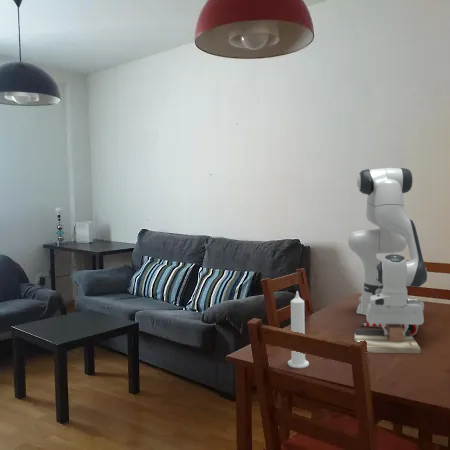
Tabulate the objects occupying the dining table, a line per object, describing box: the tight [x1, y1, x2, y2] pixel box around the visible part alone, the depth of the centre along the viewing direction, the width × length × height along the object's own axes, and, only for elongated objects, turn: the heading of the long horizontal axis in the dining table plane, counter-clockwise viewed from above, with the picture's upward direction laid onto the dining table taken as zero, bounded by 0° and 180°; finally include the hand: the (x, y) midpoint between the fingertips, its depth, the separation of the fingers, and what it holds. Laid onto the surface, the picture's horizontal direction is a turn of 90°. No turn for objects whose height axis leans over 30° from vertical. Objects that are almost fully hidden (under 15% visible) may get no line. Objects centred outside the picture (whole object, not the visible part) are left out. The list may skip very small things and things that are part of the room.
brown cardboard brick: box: [386, 324, 403, 342], centre depth 184 cm, size 7×4×5 cm, turn 171°
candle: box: [287, 290, 310, 369], centre depth 166 cm, size 7×7×25 cm
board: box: [353, 328, 421, 355], centre depth 183 cm, size 16×21×4 cm
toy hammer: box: [360, 322, 420, 337], centre depth 203 cm, size 23×12×6 cm, turn 65°
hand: (394, 335), depth 185 cm, fingers closed on brown cardboard brick, 4 cm apart
